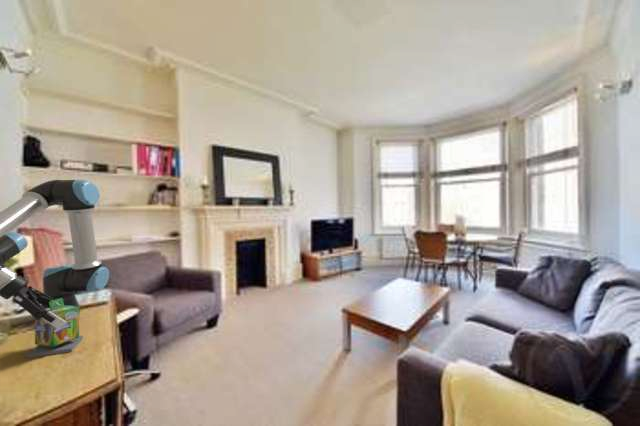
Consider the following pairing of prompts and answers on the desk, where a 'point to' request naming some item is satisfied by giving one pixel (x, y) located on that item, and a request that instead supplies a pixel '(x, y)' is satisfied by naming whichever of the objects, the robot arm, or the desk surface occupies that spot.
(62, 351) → the charcoal mat
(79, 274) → the robot arm
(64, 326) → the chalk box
